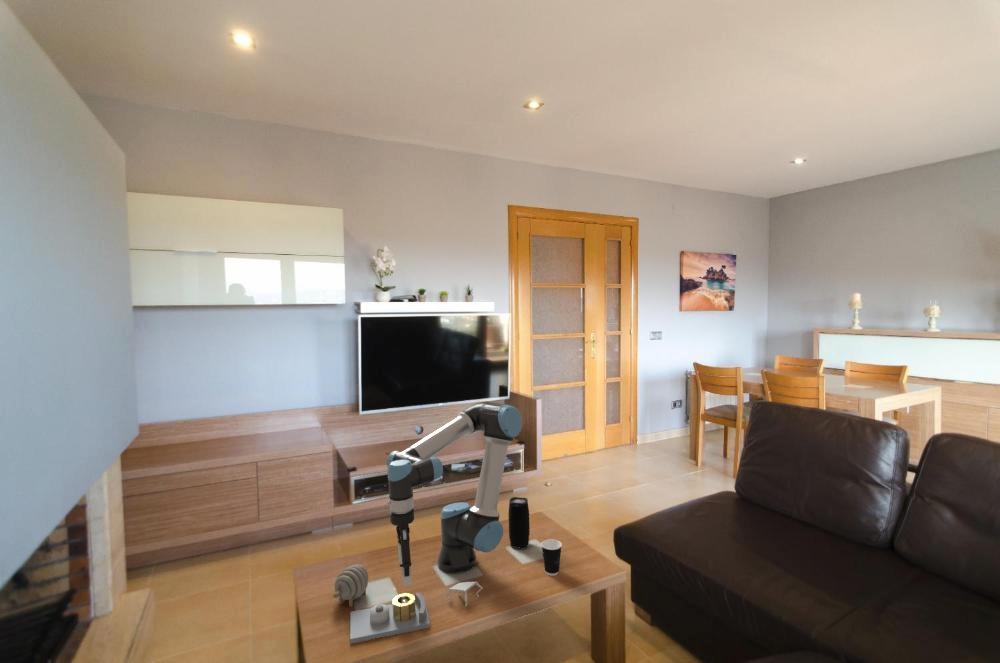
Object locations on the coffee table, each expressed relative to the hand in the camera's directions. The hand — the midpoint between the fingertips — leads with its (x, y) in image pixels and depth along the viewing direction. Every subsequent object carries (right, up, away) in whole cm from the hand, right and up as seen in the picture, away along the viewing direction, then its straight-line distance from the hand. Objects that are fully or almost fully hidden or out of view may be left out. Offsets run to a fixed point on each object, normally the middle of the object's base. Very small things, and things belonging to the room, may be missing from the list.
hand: (405, 573), depth 158 cm
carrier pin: (0, -13, 0) cm, 13 cm away
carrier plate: (-5, -15, -1) cm, 16 cm away
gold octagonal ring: (0, -13, 0) cm, 13 cm away
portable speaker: (+39, -12, +48) cm, 63 cm away
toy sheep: (-21, -15, +12) cm, 28 cm away
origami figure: (+19, -14, +10) cm, 26 cm away
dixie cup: (+50, -13, +26) cm, 58 cm away
